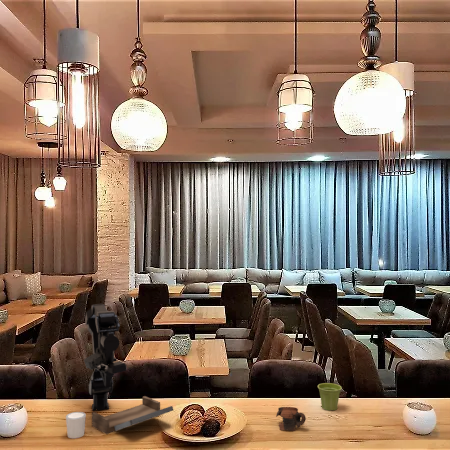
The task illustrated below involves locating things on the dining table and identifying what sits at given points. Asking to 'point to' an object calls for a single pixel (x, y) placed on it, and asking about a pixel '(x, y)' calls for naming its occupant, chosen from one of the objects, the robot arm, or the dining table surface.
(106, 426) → the tray
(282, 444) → the dining table surface
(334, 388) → the plant pot
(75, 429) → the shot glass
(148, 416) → the panel
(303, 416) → the pottery mug
